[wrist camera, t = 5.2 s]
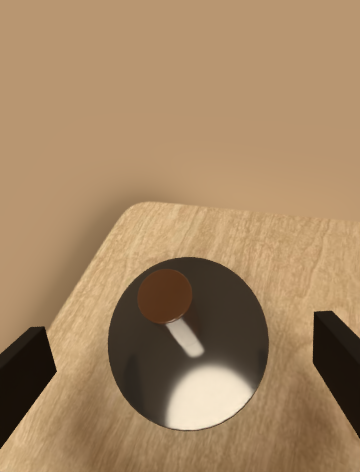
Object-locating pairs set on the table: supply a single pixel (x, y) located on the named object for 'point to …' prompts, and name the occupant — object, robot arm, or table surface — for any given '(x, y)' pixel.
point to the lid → (188, 344)
